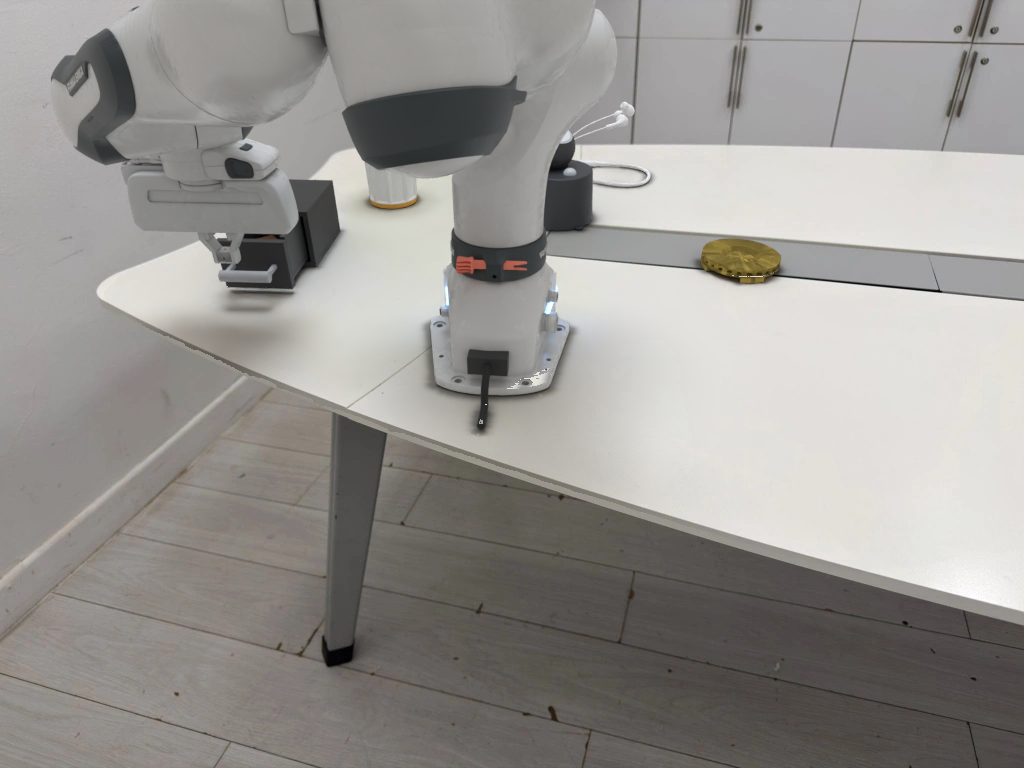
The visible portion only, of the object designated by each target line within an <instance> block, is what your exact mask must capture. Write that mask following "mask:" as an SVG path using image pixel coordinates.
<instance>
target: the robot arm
mask: <svg viewBox="0 0 1024 768" xmlns="http://www.w3.org/2000/svg"><path fill="white" fill-rule="evenodd" d="M596 6H597V0H145V1H144V2H143V3H142V4H141V5H138V6H134V7H132V8H131V9H130V10H129V11H127V12H126V14H125V16H123V17H121V18H120V19H118V20H117V21H115V22H114V23H112V24H111V25H109V27H107V28H106V27H105V28H104V29H102V30H100V31H99V32H97V33H96V34H94V35H93V36H91V37H89V38H88V39H87V40H85V41H84V42H83V44H82V45H81V46H80V48H79V49H78V51H77V52H76V53H75V54H72V55H71V54H67V55H66V54H65V55H64V56H63V57H62V58H61V60H60V61H59V62H58V63H57V65H56V66H55V67H54V69H53V71H52V73H51V75H50V97H51V98H50V99H51V104H52V108H53V111H54V114H55V117H56V120H57V122H58V124H59V126H60V129H61V130H62V132H63V134H64V135H65V137H66V138H67V140H68V141H69V143H71V144H72V146H73V148H74V149H75V150H76V151H77V152H79V153H80V154H81V155H83V156H86V158H89V159H90V160H92V161H95V162H97V163H99V164H102V165H104V166H110V165H115V164H120V163H121V165H120V172H121V175H122V178H123V181H124V183H125V184H126V188H127V196H128V203H129V207H130V211H131V215H132V219H133V222H134V224H135V225H136V226H137V227H138V228H139V229H140V230H141V231H143V232H162V233H163V232H164V233H165V232H166V233H167V232H168V233H197V238H198V240H199V241H200V242H201V243H202V244H203V245H204V246H205V248H207V249H208V251H209V252H211V254H212V255H211V256H212V258H213V263H214V264H221V263H228V264H238V263H239V262H240V260H241V255H240V251H239V247H240V244H241V241H242V239H243V236H244V233H245V234H288V233H289V232H290V231H291V230H292V229H293V228H294V227H295V225H296V224H297V222H298V219H299V215H298V209H297V205H296V201H295V197H294V194H293V190H292V187H291V184H290V182H289V180H288V179H289V177H288V176H287V174H286V173H285V172H284V171H283V170H281V169H280V168H278V166H279V164H280V163H281V154H280V151H279V150H278V148H276V147H275V146H272V145H269V144H265V143H262V142H259V141H257V140H254V139H251V138H248V136H249V135H250V133H251V132H252V130H253V128H254V127H256V126H261V125H265V124H268V123H271V122H273V121H275V120H278V119H279V118H281V117H282V116H284V115H286V114H287V113H289V112H290V111H291V110H293V109H294V108H295V107H297V105H299V104H300V103H301V102H302V101H303V100H304V99H305V98H306V96H307V95H308V94H309V93H310V91H312V89H313V87H314V86H315V84H316V83H317V81H318V79H319V77H320V76H321V75H322V72H323V69H324V67H325V64H326V61H327V59H328V56H329V59H330V63H331V67H332V70H333V73H334V76H335V81H336V83H337V86H338V89H339V92H340V96H341V98H342V101H343V104H344V107H345V109H344V110H343V111H342V112H341V116H342V118H343V121H344V124H345V126H346V129H347V131H348V134H349V136H350V139H351V141H352V143H353V145H354V148H355V150H356V152H357V153H358V155H359V157H360V158H361V160H362V161H363V162H364V163H365V162H366V163H368V164H369V165H371V166H372V167H374V168H376V169H377V170H387V171H390V172H392V173H395V174H398V175H402V176H405V177H411V178H416V179H425V180H428V179H438V178H443V177H448V176H451V190H452V211H453V227H452V229H451V232H450V241H449V242H450V243H449V244H450V246H449V247H450V256H451V257H450V258H451V262H450V263H449V264H448V265H447V266H445V268H443V269H442V272H443V289H444V306H442V305H441V306H440V308H439V315H436V316H434V317H432V318H431V319H430V329H429V330H430V338H431V350H432V351H431V352H432V362H433V374H434V382H435V384H436V385H437V386H440V387H441V388H444V389H446V390H450V391H454V392H458V393H464V394H471V395H480V408H479V415H478V419H477V423H476V428H477V429H478V430H484V429H485V427H486V422H487V418H488V413H489V396H515V395H516V396H517V395H527V394H532V393H537V392H540V391H543V390H546V389H548V388H549V387H550V386H551V384H552V382H553V379H554V376H555V374H556V370H557V368H558V364H559V362H560V358H561V356H562V353H563V350H564V348H565V345H566V342H567V339H568V337H569V333H570V322H568V321H567V320H565V319H563V318H561V317H559V315H558V312H556V307H557V305H556V303H558V300H559V292H558V285H557V271H556V270H554V269H553V268H552V267H551V266H550V265H549V264H548V263H547V262H546V261H547V250H548V238H547V237H548V235H547V230H546V229H545V228H544V227H543V225H544V206H545V195H546V186H547V178H548V173H549V168H550V165H551V162H552V159H553V156H554V154H555V152H556V150H557V148H558V146H559V144H560V142H561V140H562V139H563V137H564V136H565V134H566V133H567V131H568V130H571V128H572V127H573V125H574V124H575V123H576V122H577V121H578V120H579V119H580V118H581V117H582V116H584V114H585V113H586V112H588V111H589V110H590V109H591V108H593V107H595V106H596V105H597V104H598V103H599V102H600V101H601V100H602V99H603V97H604V96H605V95H606V93H607V92H608V90H609V89H610V87H611V85H612V84H613V83H612V82H613V81H614V78H615V74H616V70H617V66H618V65H617V64H618V53H619V52H618V43H617V39H616V35H615V32H614V30H613V27H612V25H611V23H610V21H609V20H608V18H607V16H606V15H605V14H604V13H603V12H602V11H601V10H600V9H598V8H596ZM216 234H225V236H226V238H227V240H232V243H231V246H230V247H225V246H221V244H220V243H219V242H218V241H217V238H216V237H215V235H216ZM554 365H555V366H554ZM547 368H550V369H549V370H548V371H547ZM553 368H554V369H553ZM544 369H545V370H546V371H542V370H544ZM552 370H553V372H550V371H552ZM537 372H540V373H539V375H541V374H544V373H547V372H549V373H548V375H551V377H550V379H549V381H548V382H546V383H543V384H540V385H537V386H532V387H527V388H519V389H507V388H513V387H511V386H514V385H516V384H515V383H519V384H518V385H521V386H530V385H532V383H533V382H532V381H531V380H530V379H524V378H531V377H534V376H538V375H534V374H536V373H537ZM551 373H552V374H551ZM520 379H521V380H520ZM536 379H539V378H536ZM518 381H519V382H518ZM485 404H487V405H485ZM480 419H481V420H483V424H479V421H480ZM480 423H481V422H480Z"/></svg>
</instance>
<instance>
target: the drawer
mask: <svg viewBox="0 0 1024 768" xmlns="http://www.w3.org/2000/svg"><path fill="white" fill-rule="evenodd" d="M269 235H273V236H275V237H276V238H277V239H257V238H261V237H265V236H269ZM216 239H217V241H218V242H219V243H220V244H221V246H225V247H230V246H231V243H232V240H227V237H217V238H216ZM239 251H240V255H241V260H240V262H239V263H238V264H228V263H220V267H221V269H220V270H219V271H218V274H217V277H218V281H219V282H222V283H225V285H226V287H227V286H228V287H227V288H237V289H238V288H239V289H240V288H243V289H272V290H275V289H277V290H294V288H295V287H296V282H295V278H296V276H297V275H298V273H300V271H301V269H302V268H303V267H304V266H303V265H304V263H305V262H306V260H307V259H308V258H309V256H310V254H309V249H308V244H307V238H306V233H305V227H304V222H303V217H299V219H298V222H297V224H296V225H295V227H294V228H293V229H292V230H291V231H290V232H289V233H288V234H245V233H244V236H243V239H242V241H241V244H240V247H239Z"/></svg>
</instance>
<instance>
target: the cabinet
mask: <svg viewBox="0 0 1024 768" xmlns="http://www.w3.org/2000/svg"><path fill="white" fill-rule="evenodd" d="M288 180H289V182H290V184H291V187H292V190H293V194H294V197H295V201H296V205H297V209H298V215H299V217H303V222H304V227H305V233H306V238H307V244H308V249H309V254H310V256H309V258H308V259H307V260H306V262H305V263H304V265H303V266H302V267H308V268H309V267H315V268H316V267H318V265H319V264H320V262H321V261H322V260H323V258H324V256H325V255H326V253H327V252H328V250H329V249H330V247H331V246H332V244H333V243H334V241H335V240H336V238H337V236H338V235H339V234H340V232H341V227H340V221H339V220H340V219H339V213H338V207H337V206H338V205H337V201H336V200H337V199H336V194H335V187H334V180H333V179H294V178H293V179H292V178H290V179H289V178H288Z"/></svg>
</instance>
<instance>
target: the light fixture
mask: <svg viewBox="0 0 1024 768" xmlns="http://www.w3.org/2000/svg"><path fill="white" fill-rule="evenodd" d="M574 138H575V136H573V133H572V131H571V129H569V130H568V131H567V133H566V134H565V136H564V137H563V139H562V140H561V142H560V144H559V146H558V148H557V150H556V152H555V154H554V156H553V159H552V162H551V165H550V168H549V173H548V178H547V186H546V195H545V206H544V225H543V227H544V228H545V229H546V231H555V232H556V231H557V232H558V231H561V232H562V231H564V232H565V231H572V230H575V229H576V230H583V229H584V227H586V226H588V225H589V224H590V223H591V222H592V221H593V199H594V197H593V193H594V182H593V178H594V169H593V167H591V166H589V165H588V164H586V163H584V162H580V161H577V160H578V159H573V158H574V155H575V152H576V141H575V140H574Z"/></svg>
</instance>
